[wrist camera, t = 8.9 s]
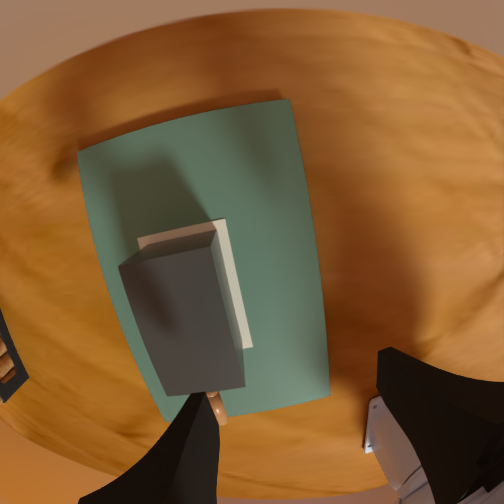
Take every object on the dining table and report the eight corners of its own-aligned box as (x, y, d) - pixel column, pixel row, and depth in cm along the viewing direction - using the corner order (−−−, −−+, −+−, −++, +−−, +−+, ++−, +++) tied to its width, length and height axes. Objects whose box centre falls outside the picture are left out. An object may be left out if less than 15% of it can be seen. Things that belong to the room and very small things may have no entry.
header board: (327, 388, 21) (339, 415, 18) (167, 414, 21) (161, 442, 18) (286, 103, 16) (298, 85, 13) (83, 153, 16) (56, 148, 13)
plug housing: (252, 381, 19) (258, 429, 15) (194, 389, 19) (188, 437, 14) (216, 229, 17) (210, 246, 12) (147, 244, 17) (117, 266, 12)
